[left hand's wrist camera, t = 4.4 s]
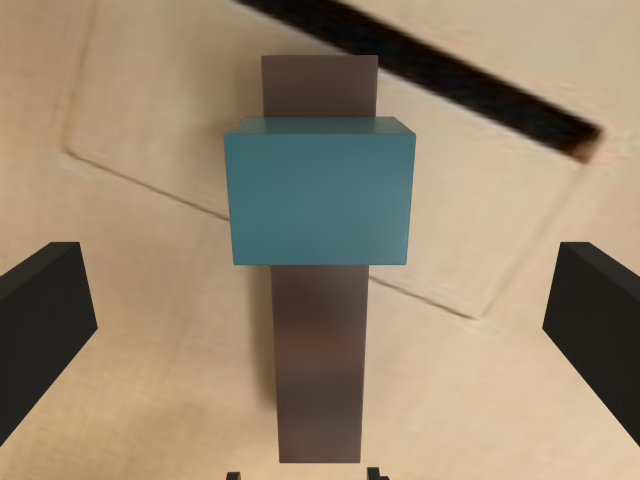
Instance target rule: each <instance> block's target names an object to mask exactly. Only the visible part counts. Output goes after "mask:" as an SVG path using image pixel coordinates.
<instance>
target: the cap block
mask: <svg viewBox="0 0 640 480" xmlns="http://www.w3.org/2000/svg"><path fill="white" fill-rule="evenodd" d="M415 145H416V134H415V133H414V132H412V131H411V130H410V129H409V128H407V127H406V126H405V125H403V124H402V123H401V122H400V121H398V120H397V119H396V118H395V117H245V118H244V119H243V120H241V121H240V122H239V123H238V124H236V125H235V126H234V127H232V128H231V129H230V130H229V131H227V132H226V133H225V134H224V149H225V162H226V174H227V187H228V200H229V213H230V226H231V238H232V251H233V263H234V265H406V260H407V247H408V234H409V222H410V209H411V196H412V183H413V170H414V157H415Z"/></svg>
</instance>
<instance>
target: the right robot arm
mask: <svg viewBox="0 0 640 480" xmlns="http://www.w3.org/2000/svg"><path fill="white" fill-rule="evenodd" d="M226 480H241V476H240V472H228V473H227V477H226ZM367 480H390V479H389V478H388V476H380V473H379V467H367Z"/></svg>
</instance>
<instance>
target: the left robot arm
mask: <svg viewBox="0 0 640 480" xmlns="http://www.w3.org/2000/svg"><path fill="white" fill-rule="evenodd" d="M97 329H98V327H97V322H96V318H95V313H94V308H93V304H92V299H91V294H90V290H89V285H88V280H87V276H86V271H85V266H84V262H83V257H82V252H81V248H80V243H79V242H50V243H49V244H48V245H46V246H45V247H43V248H42V249H40V250H39V251H37V252H36V253H34V254H33V255H31V256H30V257H29V258H27V259H26V260H24V261H23V262H21V263H20V264H18V265H17V266H15V267H14V268H12V269H11V270H9V271H8V272H7V273H5V274H4V275H2V276H1V277H0V447H1V446H2V444H3V443H4V442H5V441H6V439H7V438H8V437H9V436H10V435H11V433H12V432H13V431H14V430H15V429H16V427H17V426H18V425H19V424H20V422H21V421H22V420H23V419H24V418H25V416H26V415H27V414H28V413H29V412H30V410H31V409H32V408H33V407H34V405H35V404H36V403H37V402H38V401H39V399H40V398H41V397H42V396H43V394H44V393H45V392H46V391H47V390H48V388H49V387H50V386H51V385H52V384H53V382H54V381H55V380H56V379H57V377H58V376H59V375H60V374H61V373H62V371H63V370H64V369H65V368H66V367H67V365H68V364H69V363H70V362H71V360H72V359H73V358H74V357H75V356H76V354H77V353H78V352H79V351H80V350H81V348H82V347H83V346H84V345H85V343H86V342H87V341H88V340H89V339H90V337H91V336H92V335H93V334H94V332H95V331H96V330H97ZM542 329H543V330H544V331H545V332H546V334H547V335H548V336H549V337H550V339H551V340H552V341H553V342H554V343H555V345H556V346H557V347H558V348H559V350H560V351H561V352H562V353H563V354H564V356H565V357H566V358H567V359H568V360H569V362H570V363H571V364H572V365H573V367H574V368H575V369H576V370H577V371H578V373H579V374H580V375H581V376H582V377H583V379H584V380H585V381H586V382H587V384H588V385H589V386H590V387H591V388H592V390H593V391H594V392H595V393H596V394H597V396H598V397H599V398H600V399H601V401H602V402H603V403H604V404H605V405H606V407H607V408H608V409H609V410H610V412H611V413H612V414H613V415H614V416H615V418H616V419H617V420H618V421H619V422H620V424H621V425H622V426H623V427H624V429H625V430H626V431H627V432H628V433H629V435H630V436H631V437H632V438H633V439H634V441H635V442H636V443H637V444H638V446H639V447H640V277H639V276H638V275H636V274H635V273H633V272H632V271H631V270H629V269H628V268H626V267H625V266H623V265H622V264H620V263H619V262H617V261H616V260H614V259H613V258H611V257H610V256H609V255H607V254H606V253H604V252H603V251H601V250H600V249H598V248H597V247H595V246H594V245H592V244H591V243H590V242H561V243H560V248H559V252H558V257H557V262H556V266H555V271H554V276H553V280H552V285H551V290H550V294H549V299H548V304H547V308H546V313H545V318H544V322H543V327H542Z"/></svg>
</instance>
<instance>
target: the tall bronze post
mask: <svg viewBox="0 0 640 480" xmlns="http://www.w3.org/2000/svg"><path fill="white" fill-rule="evenodd" d="M261 64H262V86H263V109H264V117H376V94H377V71H378V56H262V57H261ZM368 275H369V265H271V287H272V309H273V332H274V354H275V376H276V399H277V421H278V443H279V462H280V463H360V455H361V433H362V410H363V388H364V365H365V342H366V320H367V297H368Z"/></svg>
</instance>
